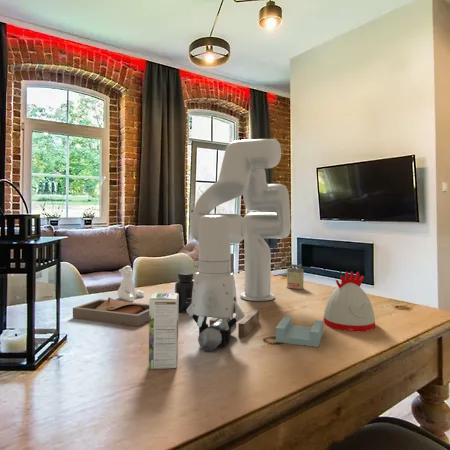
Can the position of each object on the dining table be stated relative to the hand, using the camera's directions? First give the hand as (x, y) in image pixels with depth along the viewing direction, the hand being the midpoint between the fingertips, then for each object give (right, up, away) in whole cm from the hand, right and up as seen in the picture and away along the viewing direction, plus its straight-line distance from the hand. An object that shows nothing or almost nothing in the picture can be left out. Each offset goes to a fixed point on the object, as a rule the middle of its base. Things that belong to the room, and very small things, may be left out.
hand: (214, 342), depth 88 cm
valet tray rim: (-30, 0, +24) cm, 39 cm away
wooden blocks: (+5, 0, +14) cm, 15 cm away
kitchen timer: (+38, 0, +17) cm, 42 cm away
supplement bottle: (-10, 0, +32) cm, 33 cm away
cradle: (+21, 0, +5) cm, 22 cm away
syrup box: (-10, -1, -10) cm, 15 cm away
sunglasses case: (-30, 0, +24) cm, 39 cm away
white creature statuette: (-33, +1, +48) cm, 58 cm away
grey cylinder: (+1, 0, +2) cm, 2 cm away
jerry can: (+32, +2, +66) cm, 73 cm away
